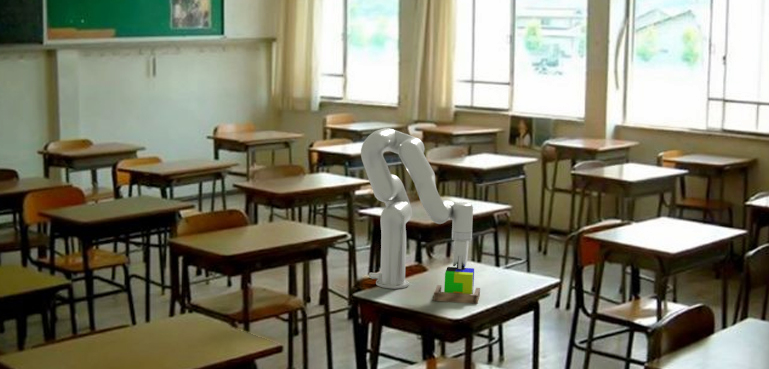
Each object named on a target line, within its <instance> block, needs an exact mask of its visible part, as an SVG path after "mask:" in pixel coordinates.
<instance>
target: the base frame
mask: <svg viewBox="0 0 769 369" xmlns="http://www.w3.org/2000/svg"><path fill="white" fill-rule="evenodd" d="M480 296H481V287H475V290H474V292H473V294H463V293H448V292H444V291H443V292H442V285H441V284H437V285H436V287H435V289H434V292H433V301H435V302H449V303H464V304H479V299H480Z"/></svg>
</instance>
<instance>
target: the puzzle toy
mask: <svg viewBox="0 0 769 369" xmlns="http://www.w3.org/2000/svg"><path fill="white" fill-rule="evenodd" d="M474 282H475V268H473V267H465V268H461V269H458V267H457V266H447V268H446V270H445V271H444V291H443V292H448V293H463V294H474V286H475V285H474V284H475V283H474Z"/></svg>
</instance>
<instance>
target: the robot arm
mask: <svg viewBox="0 0 769 369" xmlns="http://www.w3.org/2000/svg"><path fill="white" fill-rule="evenodd" d="M425 150H426V148H425V144H424V142H423V141H422V140H421V139H420V138H419V137H416V136H413V135H410V134H408V133H404V132H401V131H399V130H396V129H393V128H388V127H384V128H380V129H377V130H375V131H373V132H372V133H370V134H369V135H368V136H367V137H366V138H365V139H364V141H363V143H362V144H361V148H360V157H361V162H362V164H363V167H364V169H365V173H366V175H367V178H368V182H369V183H370V186H371V188H372V189H371V190H372V193H373V195H374V197H375V198H376V199H377V201H380V202H382V203H383V202H384V204H385V207H384V209H382V212H381V214H380V219H379V220H380V230H381V233H380V234H381V236H380V237H381V239H380V245H381V246H380V247H381V248H380V272H377V273H375V272H369V275H368V277H369V278H370V279H371V280H376V281H375V285H376V286H377V287H380V288H384V289H391V290H392V289H393V290H394V289H395V290H396V289H398V290H399V289H405V288H407V287H409V285H410V282H409V280H407V279H406V263H407V262H406V261H407V259H406V258H407V230H406V229H407V228H406V224H407V223H408V222H409V221H410V220H411V218H412V215H413V209H412V205H411V202H410V199H409V196H408V195H407V194H408V193H407V191H406V189H405V188H406V187H405V186H404V183H403V182H402V180H401V178H399V176H397V175H395V174H393V173H391V171H390V169H389V165H388V163H387V161H386V159H385V157H384V154H385V152H387V151H388V152H392V153H394V154H397V155H398V157H399V158H400V160H401V162H402V164H403V165H404V167H405V169H406V171H407V172H408V174H409V176H410V179H411V180H412V182H413V183H414V186H415V187H414V188H415V190H416V193H417V195H418V198H419V201H420V203H421V205H422V207H423V209H424V210H425V212H426V215H427V216H428V217H429V219H430V220H431V221H433V222H434V223H435V224H438V225H441V224H444V223H446V222H447V221H449V220H452V224H451V225H452V226H451V227H452V228H451V240H452V241H453V252H452V253H453V257H452V267H458V269H461V268H466V266H467V263H468V257H469V242H471V241H472V240H473V221H474V220H473V215H474V209H473V208H474V206H473V204H471V203H470V202H464V201H463V202H462V201H460V202H458V201H457V202H456V201H452V200H447V199H442V198H441V196H440V194H439V192H438V189H437V185H436V174H435V171H434V169H433V168H432V166H431V164H430V163H429V161H428V159H427V157H426V155H425V154H424V153H425Z"/></svg>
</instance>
